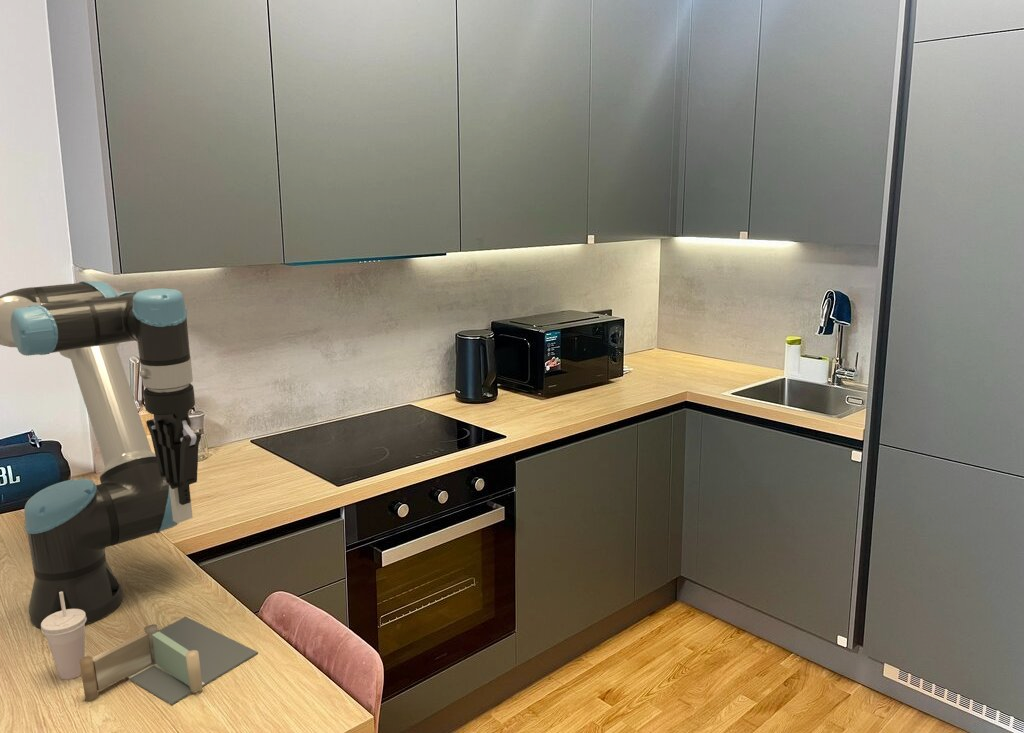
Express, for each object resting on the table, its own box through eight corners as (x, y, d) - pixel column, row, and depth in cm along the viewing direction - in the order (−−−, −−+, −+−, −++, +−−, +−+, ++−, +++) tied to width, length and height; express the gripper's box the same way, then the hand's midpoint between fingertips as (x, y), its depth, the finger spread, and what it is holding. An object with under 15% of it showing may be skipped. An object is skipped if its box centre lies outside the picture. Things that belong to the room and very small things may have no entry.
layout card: (99, 662, 135) (99, 660, 134) (185, 618, 147) (185, 616, 147) (171, 705, 124) (171, 703, 123) (258, 653, 136) (257, 651, 136)
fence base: (82, 698, 125) (76, 660, 124) (157, 657, 135) (152, 622, 134) (89, 703, 124) (83, 664, 123) (164, 661, 134) (160, 626, 133)
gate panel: (154, 665, 133) (149, 632, 131) (164, 660, 134) (160, 627, 132) (194, 693, 125) (189, 658, 124) (204, 687, 127) (200, 652, 125)
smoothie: (101, 660, 135) (89, 583, 132) (83, 684, 129) (69, 604, 126) (61, 661, 135) (48, 584, 132) (41, 685, 129) (27, 605, 125)
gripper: (125, 383, 133) (142, 515, 140) (167, 399, 125) (182, 538, 132) (169, 373, 139) (183, 501, 145) (211, 388, 131) (224, 522, 137)
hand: (182, 519), depth 138 cm, fingers closed
